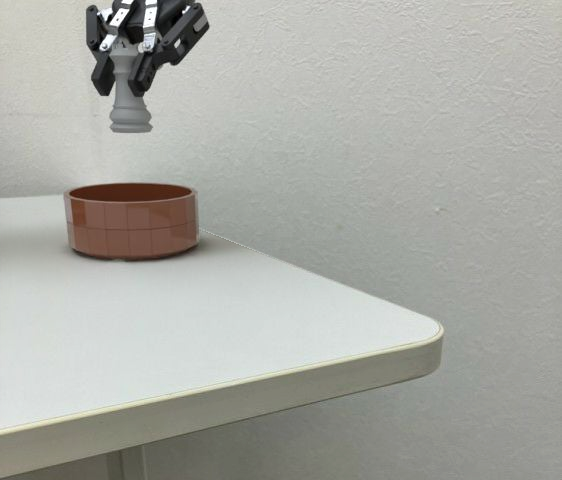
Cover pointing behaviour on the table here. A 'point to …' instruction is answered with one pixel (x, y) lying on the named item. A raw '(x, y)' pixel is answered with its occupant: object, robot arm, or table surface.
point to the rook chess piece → (127, 95)
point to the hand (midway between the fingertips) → (117, 89)
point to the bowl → (132, 219)
